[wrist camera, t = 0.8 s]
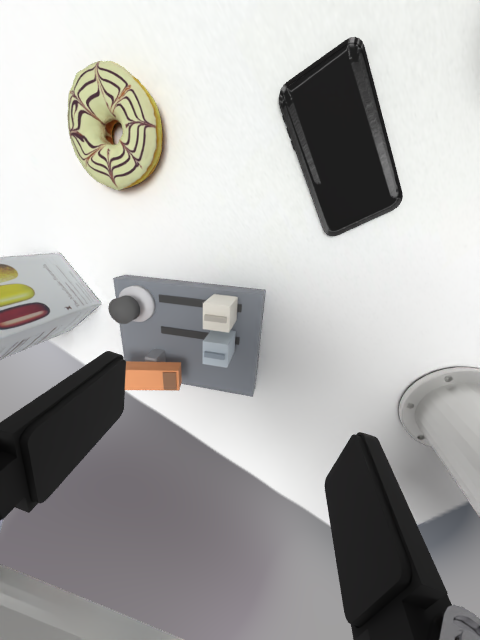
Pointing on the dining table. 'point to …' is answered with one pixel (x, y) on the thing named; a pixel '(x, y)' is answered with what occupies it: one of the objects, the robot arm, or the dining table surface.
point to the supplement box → (39, 300)
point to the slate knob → (218, 348)
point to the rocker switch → (153, 375)
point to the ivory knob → (220, 312)
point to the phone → (341, 138)
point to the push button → (124, 309)
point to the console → (191, 330)
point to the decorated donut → (99, 119)
